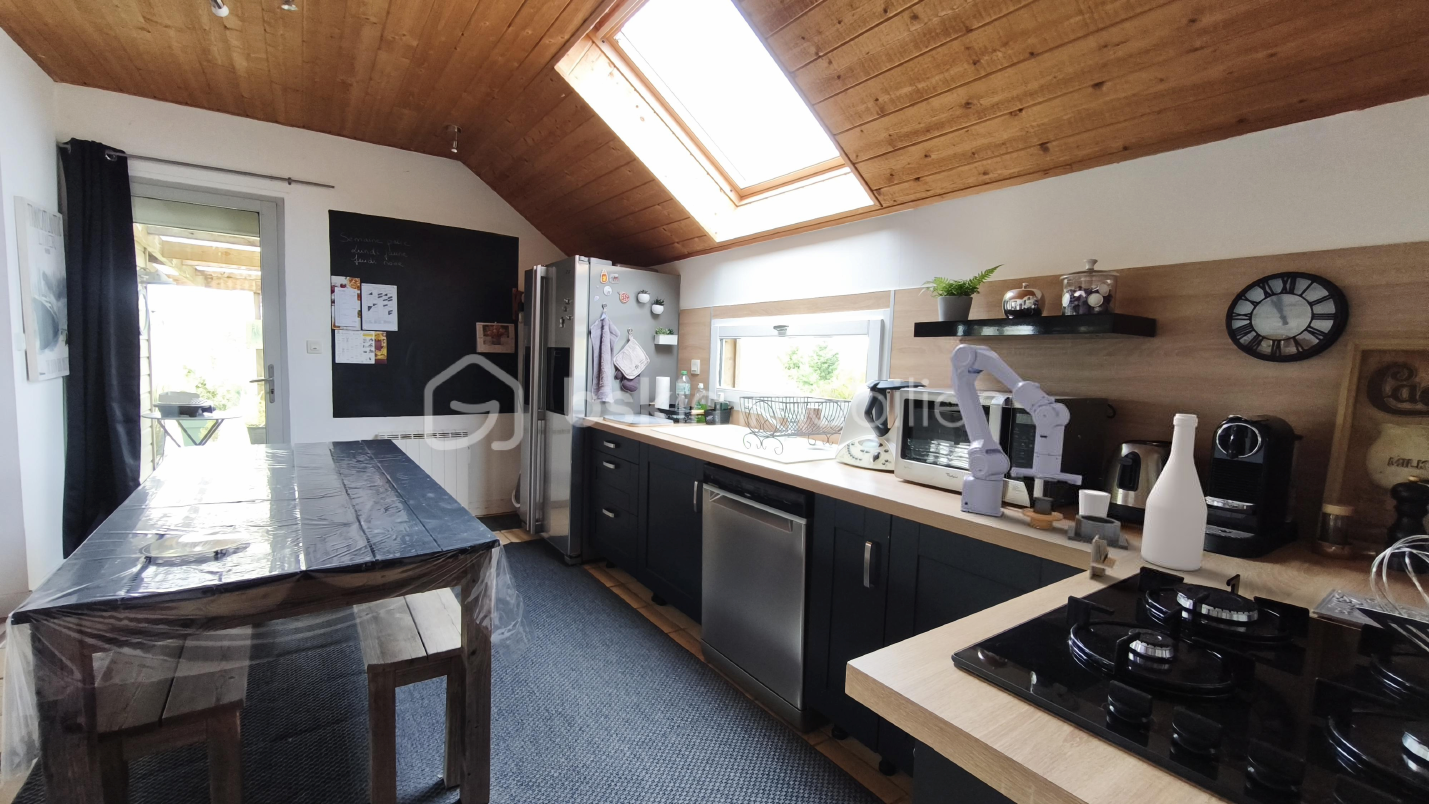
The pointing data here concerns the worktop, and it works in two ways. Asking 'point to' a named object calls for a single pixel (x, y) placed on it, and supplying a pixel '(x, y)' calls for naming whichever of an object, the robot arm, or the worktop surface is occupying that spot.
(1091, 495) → the shot glass
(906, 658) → the worktop surface
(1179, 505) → the wine bottle
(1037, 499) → the cap
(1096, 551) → the architectural model
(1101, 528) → the grey bowl on base
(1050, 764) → the worktop surface
